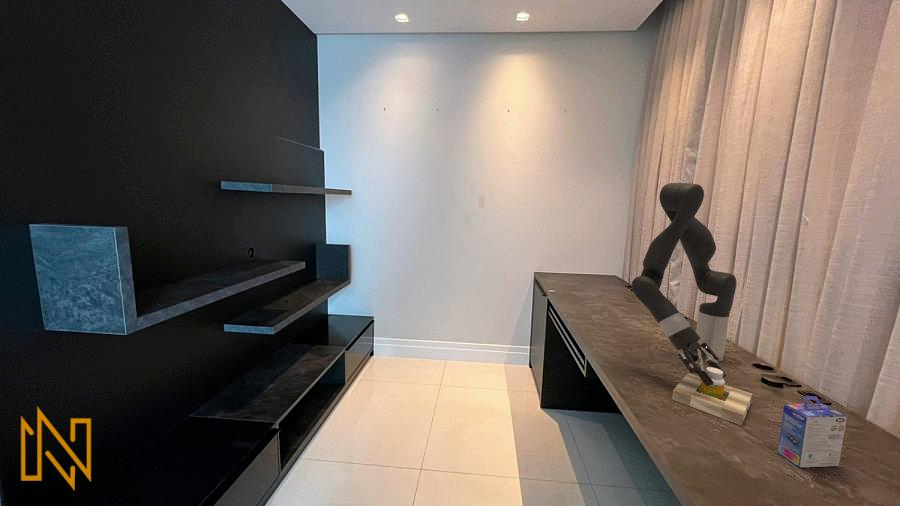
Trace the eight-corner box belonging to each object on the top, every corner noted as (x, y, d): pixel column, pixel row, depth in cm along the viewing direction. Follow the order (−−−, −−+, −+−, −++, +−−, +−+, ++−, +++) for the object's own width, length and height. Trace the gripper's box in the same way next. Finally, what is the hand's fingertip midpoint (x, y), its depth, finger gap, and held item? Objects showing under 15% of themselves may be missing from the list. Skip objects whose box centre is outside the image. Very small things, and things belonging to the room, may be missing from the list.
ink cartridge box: (812, 449, 82) (823, 393, 80) (840, 467, 76) (852, 406, 74) (774, 450, 81) (784, 393, 79) (799, 468, 76) (811, 407, 74)
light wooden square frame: (686, 381, 113) (687, 373, 112) (750, 403, 101) (752, 393, 101) (671, 399, 102) (673, 389, 101) (741, 425, 90) (743, 415, 90)
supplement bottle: (702, 403, 100) (706, 372, 99) (696, 394, 105) (700, 364, 104) (724, 408, 98) (729, 376, 97) (718, 398, 103) (722, 368, 102)
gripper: (677, 329, 101) (718, 383, 94) (699, 321, 109) (739, 370, 101) (657, 340, 107) (694, 392, 99) (679, 332, 114) (715, 379, 106)
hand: (716, 381), depth 100 cm, fingers open, 8 cm apart
